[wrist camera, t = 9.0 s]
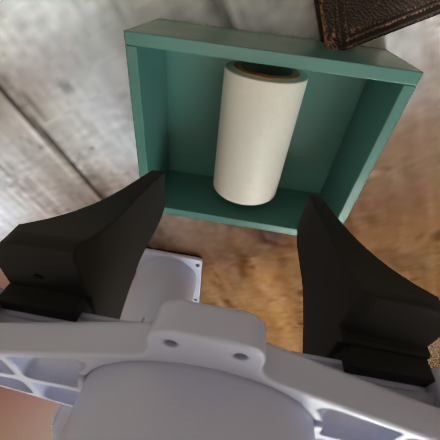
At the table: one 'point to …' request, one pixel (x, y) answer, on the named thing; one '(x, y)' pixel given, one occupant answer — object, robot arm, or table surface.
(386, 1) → the hardcover book
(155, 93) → the open storage box
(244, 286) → the table surface
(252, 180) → the paper roll
